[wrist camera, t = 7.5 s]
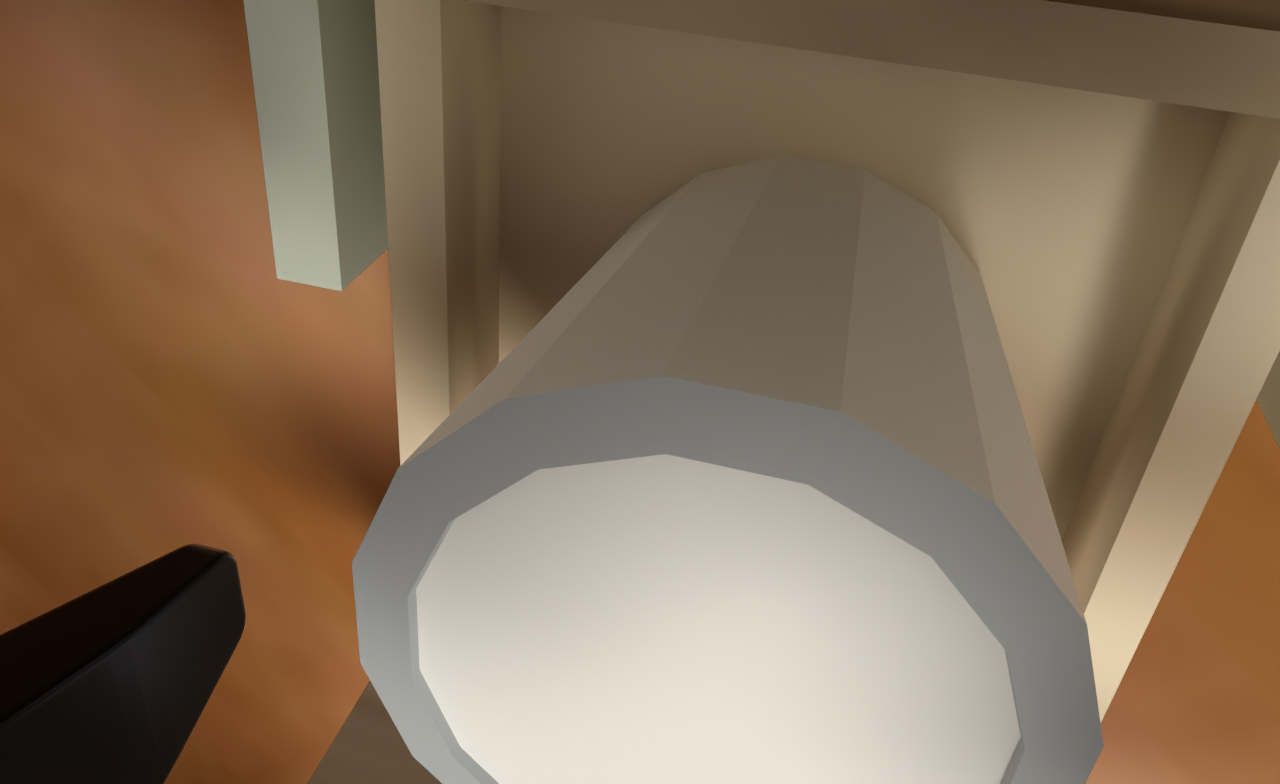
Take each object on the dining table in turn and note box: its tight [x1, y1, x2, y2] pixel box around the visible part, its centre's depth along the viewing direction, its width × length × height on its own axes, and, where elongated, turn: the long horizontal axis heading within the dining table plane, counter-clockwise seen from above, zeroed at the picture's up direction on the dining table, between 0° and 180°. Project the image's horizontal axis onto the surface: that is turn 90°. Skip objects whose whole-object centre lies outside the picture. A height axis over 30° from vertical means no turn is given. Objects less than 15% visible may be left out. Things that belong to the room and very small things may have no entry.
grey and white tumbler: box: [352, 155, 1104, 784], centre depth 12 cm, size 7×7×7 cm
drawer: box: [307, 0, 1280, 784], centre depth 13 cm, size 14×12×10 cm
